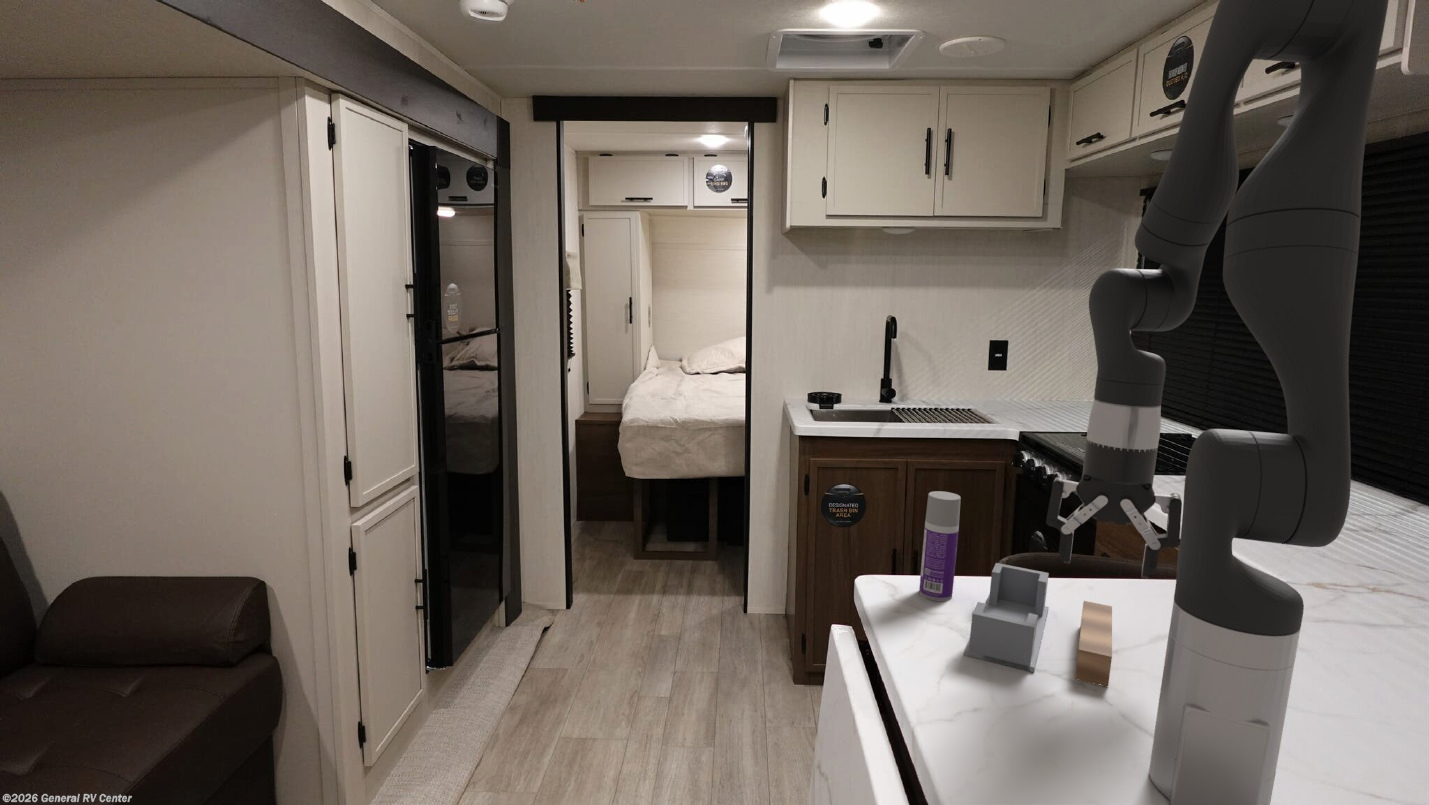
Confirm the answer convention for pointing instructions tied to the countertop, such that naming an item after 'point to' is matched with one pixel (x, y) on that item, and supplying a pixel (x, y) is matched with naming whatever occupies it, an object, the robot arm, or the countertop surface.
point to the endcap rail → (1010, 618)
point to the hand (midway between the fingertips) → (1105, 568)
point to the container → (940, 546)
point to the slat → (1095, 644)
